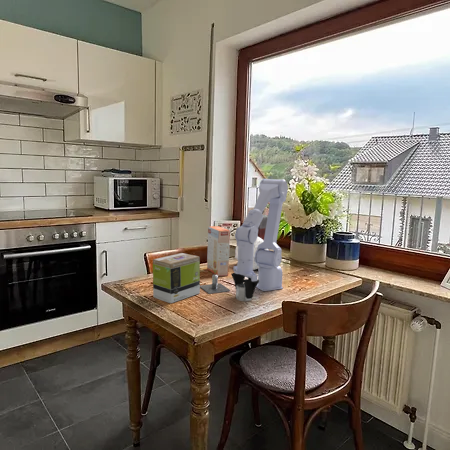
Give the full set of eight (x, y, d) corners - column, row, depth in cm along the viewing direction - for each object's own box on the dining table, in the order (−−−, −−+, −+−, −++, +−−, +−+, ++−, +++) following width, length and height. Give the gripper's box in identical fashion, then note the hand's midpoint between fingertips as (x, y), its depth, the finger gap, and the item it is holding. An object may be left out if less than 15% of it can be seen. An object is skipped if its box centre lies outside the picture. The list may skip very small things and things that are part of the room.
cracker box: (229, 275, 162) (230, 230, 159) (216, 276, 160) (217, 230, 157) (218, 268, 175) (219, 225, 172) (206, 268, 173) (207, 225, 170)
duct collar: (246, 295, 137) (247, 282, 136) (254, 300, 132) (254, 286, 131) (233, 297, 134) (234, 284, 134) (240, 302, 129) (241, 288, 129)
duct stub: (220, 284, 149) (220, 271, 148) (229, 291, 141) (230, 277, 140) (199, 286, 145) (200, 273, 144) (208, 293, 137) (209, 279, 136)
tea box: (181, 288, 143) (182, 251, 141) (200, 294, 137) (201, 256, 135) (152, 297, 132) (152, 258, 129) (170, 304, 125) (171, 263, 123)
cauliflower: (223, 247, 181) (245, 224, 178) (245, 259, 192) (266, 237, 189) (240, 273, 166) (264, 248, 163) (262, 285, 178) (285, 261, 174)
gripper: (226, 255, 136) (225, 290, 138) (245, 264, 123) (244, 302, 125) (243, 254, 139) (241, 288, 141) (263, 262, 126) (261, 300, 128)
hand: (244, 294), depth 133 cm, fingers open, 7 cm apart
